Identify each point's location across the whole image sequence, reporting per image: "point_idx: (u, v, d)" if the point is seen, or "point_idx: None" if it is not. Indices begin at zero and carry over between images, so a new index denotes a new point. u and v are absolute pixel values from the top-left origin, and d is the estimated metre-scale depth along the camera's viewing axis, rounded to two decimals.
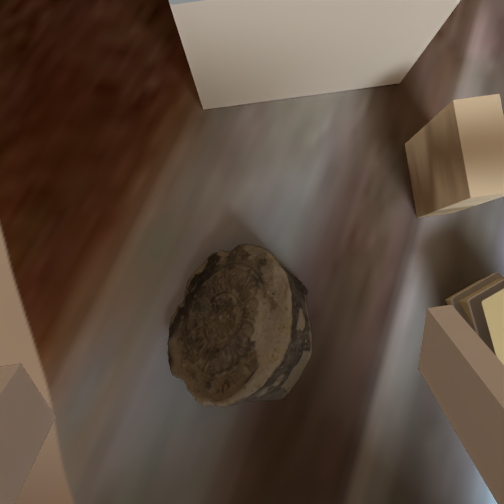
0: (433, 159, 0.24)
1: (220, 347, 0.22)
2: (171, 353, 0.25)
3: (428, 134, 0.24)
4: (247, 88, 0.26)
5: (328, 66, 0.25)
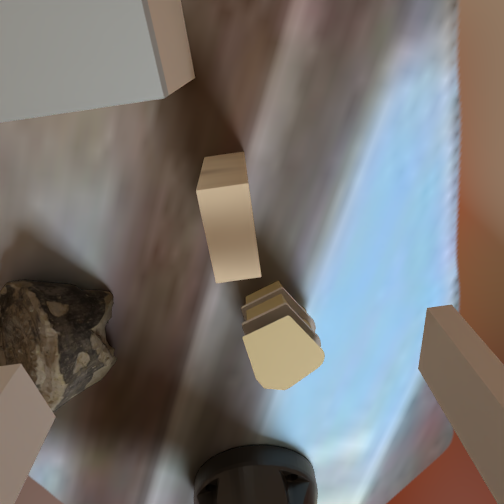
0: None
1: None
2: None
3: None
4: None
5: None
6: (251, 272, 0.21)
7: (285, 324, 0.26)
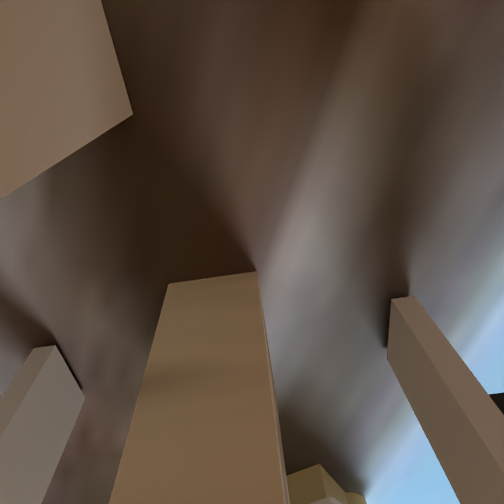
0: None
1: None
2: None
3: None
4: None
5: None
6: None
7: None
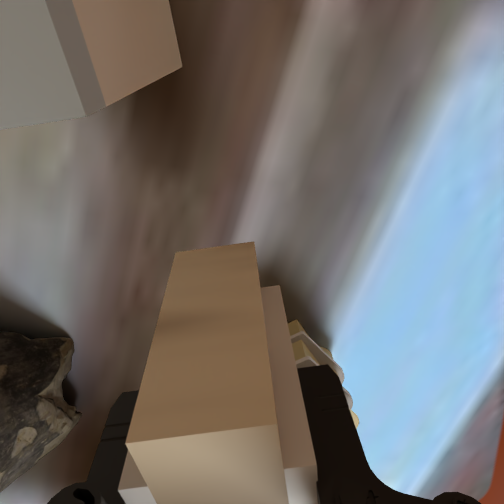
0: None
1: None
2: None
3: None
4: None
5: None
6: None
7: None
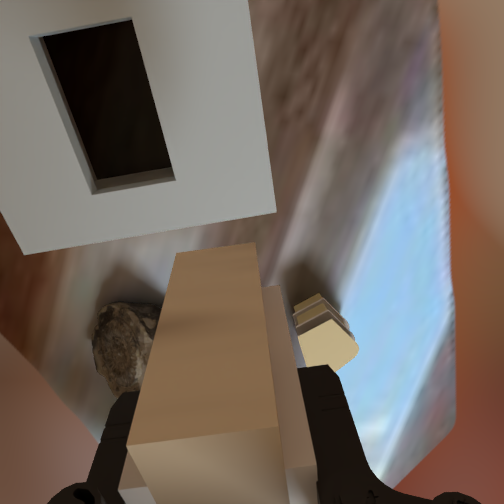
0: None
1: (121, 371, 0.36)
2: (95, 360, 0.39)
3: None
4: None
5: None
6: None
7: (329, 325, 0.35)
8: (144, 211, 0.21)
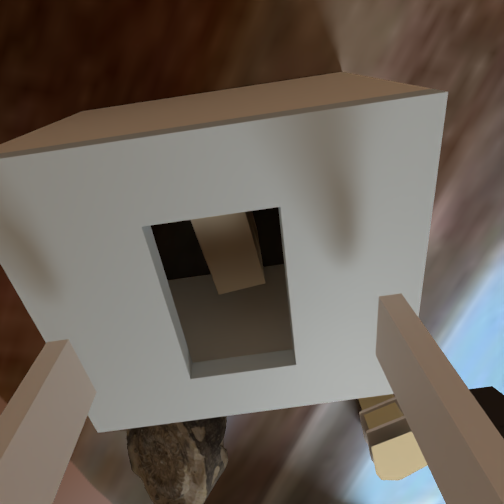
0: None
1: (162, 480, 0.33)
2: (131, 458, 0.35)
3: None
4: None
5: None
6: (254, 279, 0.20)
7: (408, 437, 0.31)
8: (251, 393, 0.17)
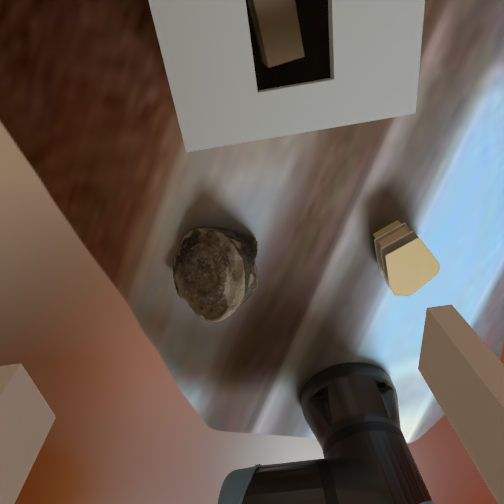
0: (254, 18, 0.28)
1: (206, 290, 0.39)
2: (177, 284, 0.42)
3: None
4: None
5: None
6: (296, 52, 0.26)
7: (416, 244, 0.38)
8: (300, 110, 0.24)
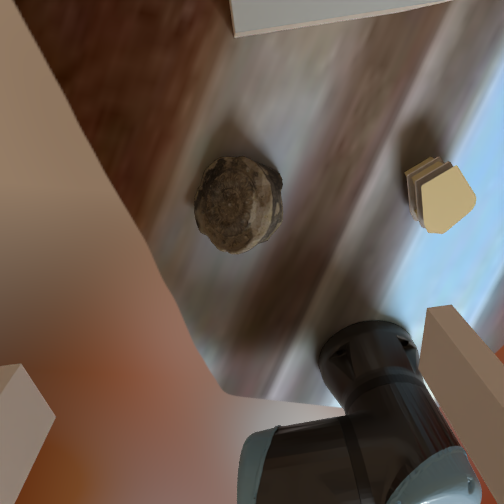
0: None
1: (230, 222, 0.38)
2: (198, 220, 0.41)
3: None
4: None
5: None
6: None
7: (453, 173, 0.37)
8: None
